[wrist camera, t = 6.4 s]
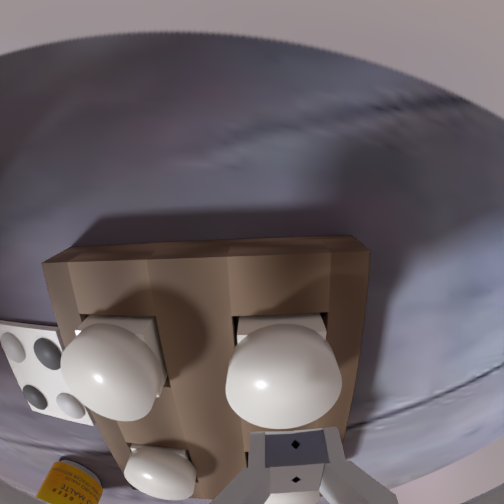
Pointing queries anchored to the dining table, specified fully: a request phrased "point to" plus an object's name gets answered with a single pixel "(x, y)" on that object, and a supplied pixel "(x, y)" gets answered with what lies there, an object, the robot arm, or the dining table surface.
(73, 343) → the button
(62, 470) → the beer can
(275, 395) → the button
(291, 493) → the button
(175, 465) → the button
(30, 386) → the pattern plaque
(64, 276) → the button board
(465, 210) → the dining table surface
